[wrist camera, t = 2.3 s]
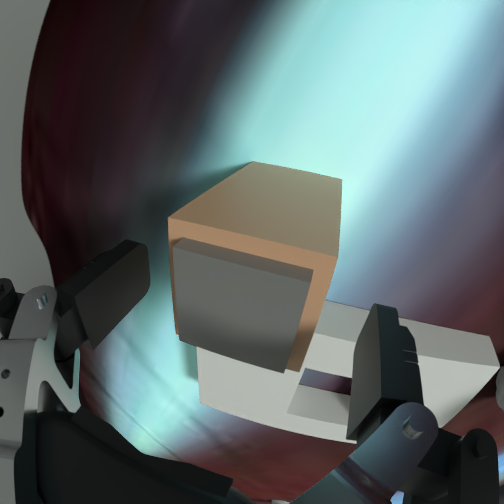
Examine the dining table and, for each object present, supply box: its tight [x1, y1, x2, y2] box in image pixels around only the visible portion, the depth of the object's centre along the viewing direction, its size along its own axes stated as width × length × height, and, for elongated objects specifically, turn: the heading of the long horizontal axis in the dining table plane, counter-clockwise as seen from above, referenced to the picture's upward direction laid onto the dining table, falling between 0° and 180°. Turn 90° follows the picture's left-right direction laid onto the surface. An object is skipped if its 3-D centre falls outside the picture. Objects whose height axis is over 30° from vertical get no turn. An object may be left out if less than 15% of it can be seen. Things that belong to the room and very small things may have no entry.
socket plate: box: [196, 300, 500, 444], centre depth 18 cm, size 12×20×3 cm, turn 84°
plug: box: [168, 161, 342, 374], centre depth 12 cm, size 5×5×9 cm
